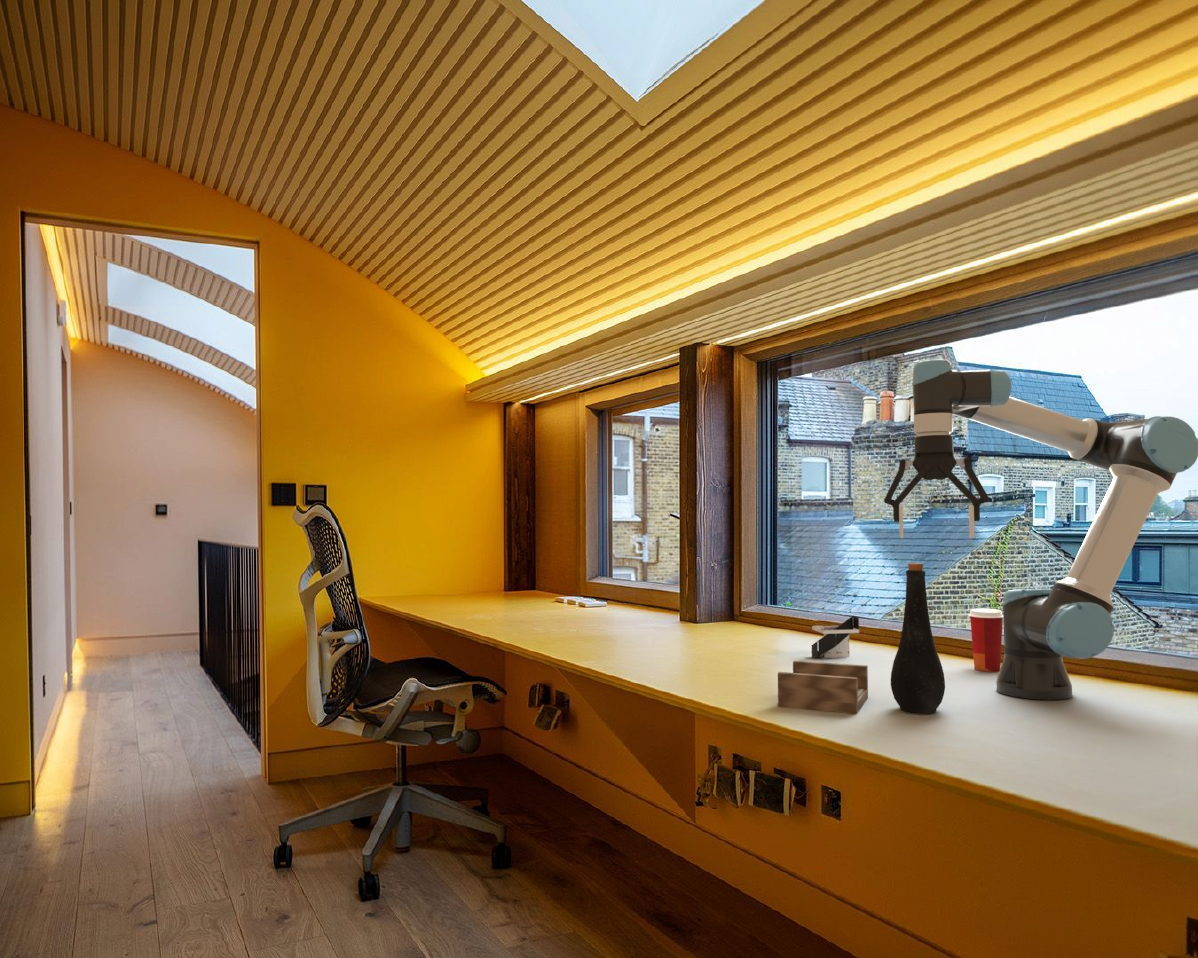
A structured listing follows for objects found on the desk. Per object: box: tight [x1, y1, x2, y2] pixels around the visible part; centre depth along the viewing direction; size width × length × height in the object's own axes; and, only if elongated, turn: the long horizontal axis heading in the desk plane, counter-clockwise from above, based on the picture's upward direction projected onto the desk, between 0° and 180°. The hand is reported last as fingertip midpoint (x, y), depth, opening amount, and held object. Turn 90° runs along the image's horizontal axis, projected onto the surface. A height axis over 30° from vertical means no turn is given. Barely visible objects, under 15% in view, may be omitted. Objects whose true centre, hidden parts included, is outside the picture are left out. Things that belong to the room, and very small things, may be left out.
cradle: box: [777, 660, 869, 715], centre depth 189 cm, size 16×16×7 cm
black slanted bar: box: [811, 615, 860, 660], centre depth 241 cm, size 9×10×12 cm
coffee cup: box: [967, 608, 1004, 673], centre depth 224 cm, size 8×8×15 cm
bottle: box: [890, 562, 946, 715], centre depth 181 cm, size 11×11×30 cm
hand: (936, 537), depth 182 cm, fingers open, 13 cm apart
